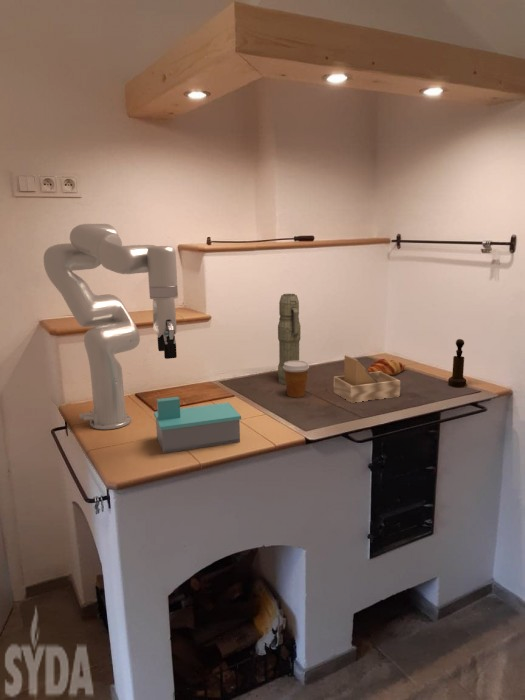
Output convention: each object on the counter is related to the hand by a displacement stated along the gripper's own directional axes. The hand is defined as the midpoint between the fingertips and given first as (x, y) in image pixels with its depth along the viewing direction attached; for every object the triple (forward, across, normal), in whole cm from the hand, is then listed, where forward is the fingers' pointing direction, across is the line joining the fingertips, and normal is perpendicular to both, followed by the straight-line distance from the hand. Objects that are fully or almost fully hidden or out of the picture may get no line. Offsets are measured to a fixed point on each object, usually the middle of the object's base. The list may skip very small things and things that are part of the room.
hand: (167, 354), depth 146 cm
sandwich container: (+27, -17, +75) cm, 82 cm away
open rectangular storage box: (+26, -17, +75) cm, 81 cm away
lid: (+20, 0, +7) cm, 22 cm away
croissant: (+27, -38, +97) cm, 108 cm away
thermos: (+27, -43, +55) cm, 75 cm away
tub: (+26, 0, +7) cm, 27 cm away
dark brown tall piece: (+27, -14, +113) cm, 117 cm away
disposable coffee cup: (+27, -27, +51) cm, 63 cm away
